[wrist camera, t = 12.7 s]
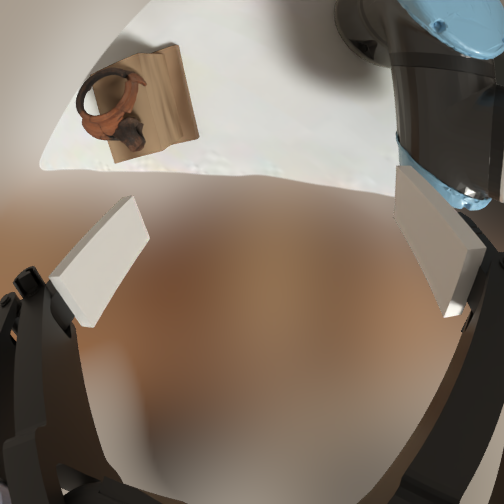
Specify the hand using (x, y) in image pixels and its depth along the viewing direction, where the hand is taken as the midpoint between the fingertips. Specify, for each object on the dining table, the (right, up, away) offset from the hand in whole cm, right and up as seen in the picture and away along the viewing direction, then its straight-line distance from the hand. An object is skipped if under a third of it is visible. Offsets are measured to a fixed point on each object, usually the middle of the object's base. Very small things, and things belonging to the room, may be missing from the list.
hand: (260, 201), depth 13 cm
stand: (-16, +22, +26) cm, 37 cm away
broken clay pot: (-16, +16, +18) cm, 29 cm away
